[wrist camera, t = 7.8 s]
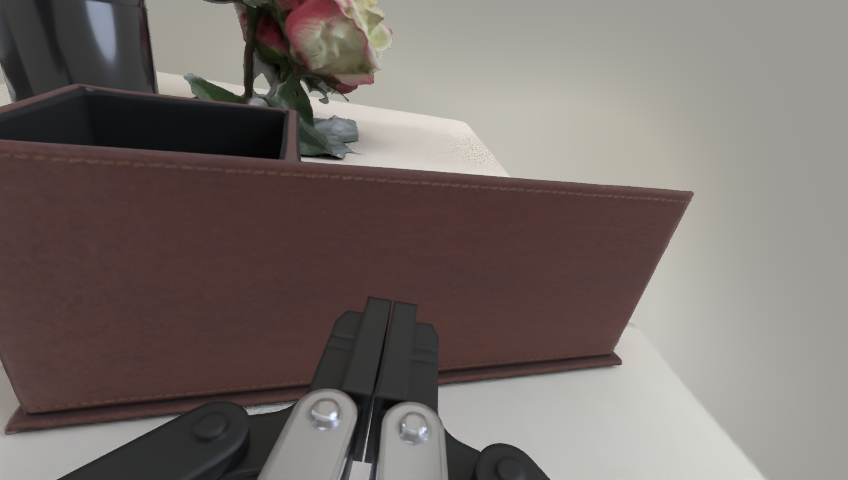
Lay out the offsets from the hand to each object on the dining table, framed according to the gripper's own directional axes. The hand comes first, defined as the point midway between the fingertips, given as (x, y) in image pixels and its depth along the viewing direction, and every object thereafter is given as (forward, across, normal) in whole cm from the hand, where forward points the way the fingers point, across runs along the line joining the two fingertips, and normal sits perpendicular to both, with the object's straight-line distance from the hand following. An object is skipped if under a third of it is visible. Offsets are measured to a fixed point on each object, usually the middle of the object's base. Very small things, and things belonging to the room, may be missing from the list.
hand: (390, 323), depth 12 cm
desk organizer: (+9, -1, -8) cm, 12 cm away
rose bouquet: (+51, -22, -8) cm, 56 cm away
